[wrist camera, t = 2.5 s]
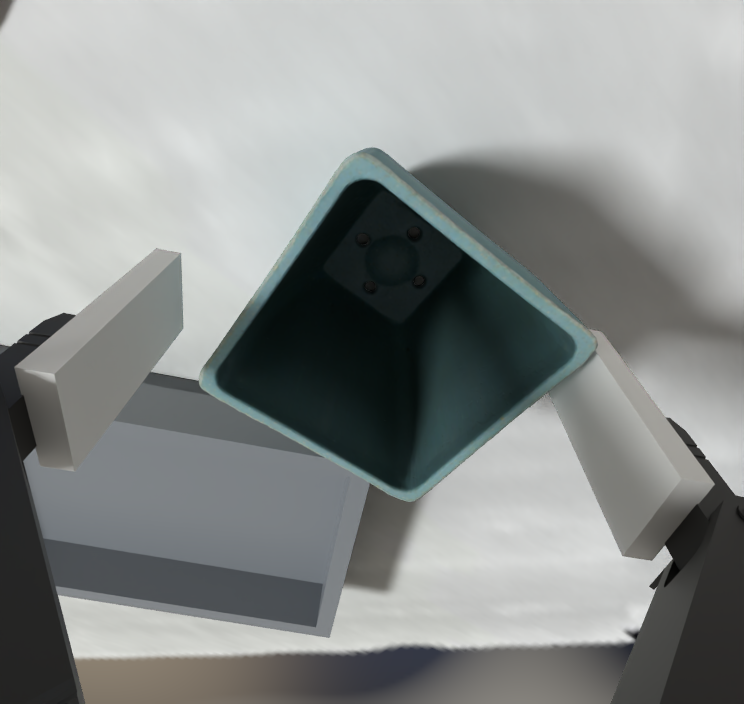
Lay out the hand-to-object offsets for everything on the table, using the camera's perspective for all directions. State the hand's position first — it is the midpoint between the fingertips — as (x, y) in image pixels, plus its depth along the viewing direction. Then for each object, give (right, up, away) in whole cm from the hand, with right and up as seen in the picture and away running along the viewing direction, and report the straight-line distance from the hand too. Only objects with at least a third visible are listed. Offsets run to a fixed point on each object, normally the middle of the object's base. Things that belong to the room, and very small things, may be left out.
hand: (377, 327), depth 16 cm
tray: (-13, -9, +14) cm, 21 cm away
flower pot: (+1, +4, +6) cm, 7 cm away
